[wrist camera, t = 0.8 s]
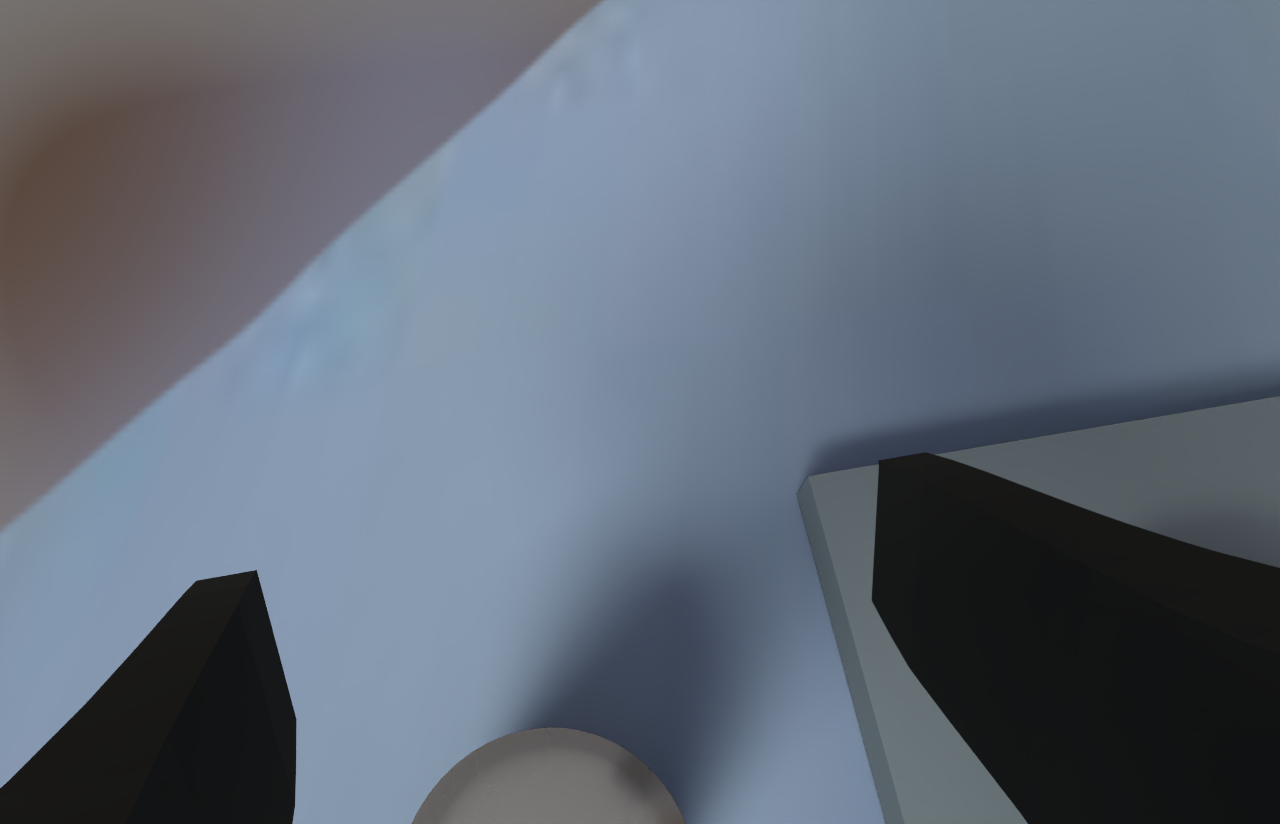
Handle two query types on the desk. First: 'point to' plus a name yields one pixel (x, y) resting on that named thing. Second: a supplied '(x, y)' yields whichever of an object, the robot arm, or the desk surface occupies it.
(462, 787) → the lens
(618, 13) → the desk surface
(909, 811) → the mount plate
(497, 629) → the desk surface
